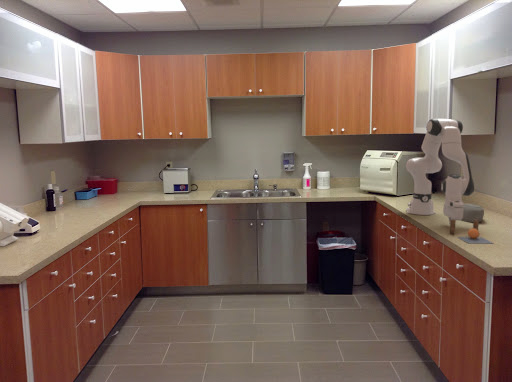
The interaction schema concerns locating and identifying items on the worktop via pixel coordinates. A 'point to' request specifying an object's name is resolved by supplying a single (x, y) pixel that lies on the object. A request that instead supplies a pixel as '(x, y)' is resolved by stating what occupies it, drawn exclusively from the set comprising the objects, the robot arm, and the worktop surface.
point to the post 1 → (452, 227)
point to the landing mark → (475, 240)
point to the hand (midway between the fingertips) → (451, 224)
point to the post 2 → (475, 224)
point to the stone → (472, 212)
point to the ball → (473, 233)
